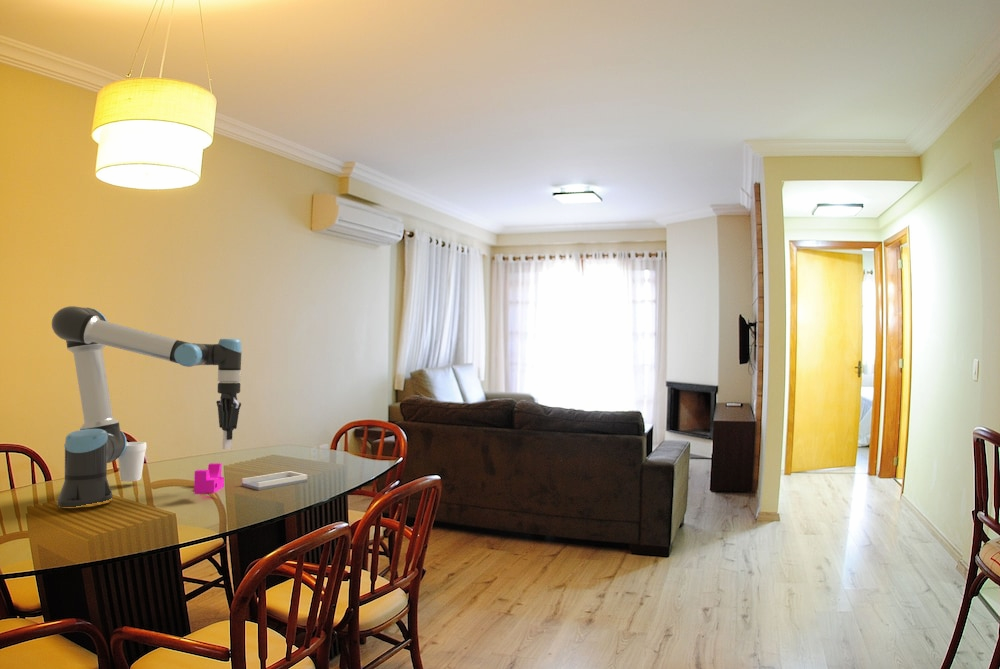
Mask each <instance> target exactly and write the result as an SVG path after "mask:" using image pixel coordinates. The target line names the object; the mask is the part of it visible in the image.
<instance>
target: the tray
mask: <svg viewBox="0 0 1000 669" xmlns="http://www.w3.org/2000/svg"><path fill="white" fill-rule="evenodd" d="M307 482H308V474H305V473H301V472H297V471H291V470H289V471H288V470H287V471H282V472H275V473H269V474H263V475H257V476H252V477H251V476H250V477H243V478H241V486H242V487H243V488H248V489H252V490H256V491H262V490H263V491H265V490H269V489H274V488H280V487H286V486H291V485H296V484H297V485H298V484H302V483H303V484H304V483H307Z"/></svg>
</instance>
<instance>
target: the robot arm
mask: <svg viewBox="0 0 1000 669" xmlns="http://www.w3.org/2000/svg"><path fill="white" fill-rule="evenodd" d="M51 328H52V330H53V333H54V334H55V335H56V336H57V337H58V338H59V339H62V340H63V341H66V342H65V344H66V347H67V350H68V351H70V352H71V353H72V354H73V358H74V360H73V361H74V364H75V372H76V377H77V384H78V390H79V396H80V402H81V409H82V415H83V421H84V422H83V424H82V425H81V426H80V427H79V429H80V430H75V431H71V432H69V433H68V434H67V435H66V436H65V441H64V442H65V443H64V446H63V447H64V481H63V485H62V487H61V490H60V492H59V494H58V498H57V507H58V506H60V507H76V506H81V505H86V504H92V503H97V502H103V501H106V500H109V499H111V498H112V499H113V493H112V488H111V486H110V484H109V480H108V478H107V476H108V475H107V468H108V467H107V466H108V465H107V464H109V463H112V462H114V461H117V460H118V458H119V457H120V456H121V455H122V454H123V452H124V451H125V449H126V445H127V441H128V440H127V437H126V435H125V433H124V432H123V431H122V430H121V427H120V421H119V420H118V419H116V418H114V416H113V409H112V402H111V398H110V397H111V396H110V390H109V385H108V384H109V383H108V377H107V370H106V365H105V358H104V352H103V350H104V348H105V347H106V346H108V347H111V348H115V349H119V350H123V351H128V352H131V353H136V354H139V355H144V356H147V357H152V358H156V359H159V360H165V361H168V362H172V363H175V364H179V365H180V366H182V367H186V368H187V367H189V368H190V367H194V366H195V367H196V366H218V367H217V369H218V370H217V381H218V383H217V393H218V394H221V395H220V400H216V406H217V415H218V424H219V425H218V427H219V428H220V429H221V430H222V450H229V449H233V431H234V430H237V428H238V422H239V414H240V409H241V406H242V403H241V402H238V396H237V394H239V393H240V392H241V383H240V381H241V377H242V376H241V375H242V373H241V372H242V369H241V368H242V353H243V352H242V341H241V340H240V339H238V338H220V339H219V340H218V343H214V344H213V343H192V342H187V341H183V340H179V339H176V338H171V337H167V336H163V335H159V334H156V333H152V332H148V331H144V330H140V329H137V328H133V327H128V326H125V325H121V324H117V323H114V322H109V321H108V319H107V318H106V316H105V315H104V314H103V313H102V312H100V311H98V310H96V309H94V308H91V307H83V306H82V307H80V306H74V305H73V306H71V305H70V306H66V307H65V306H64V307H62V308H61V309H59V310H58V311H56V312H55V313H54V314H53V316H52V320H51ZM60 507H59V508H60Z"/></svg>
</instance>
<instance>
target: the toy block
mask: <svg viewBox="0 0 1000 669" xmlns="http://www.w3.org/2000/svg"><path fill="white" fill-rule="evenodd" d="M193 485H194V486H193V488H194V492H193V494H194V495H202V494H215V493H217V492H218V491H220V490H221V489H223V488H225V476H222V462H220V463H219V462H217V463H215V462H211V463H208V467H207V469H196V470H194V484H193Z"/></svg>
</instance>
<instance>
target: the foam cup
mask: <svg viewBox="0 0 1000 669" xmlns="http://www.w3.org/2000/svg"><path fill="white" fill-rule="evenodd" d="M146 450H147V442H145V441H144V442H143V441H129V442H127V445H126V449H125V451H124V452H123V454H122V455H121V456H120V457H119V458H117V461H118V468H119V478H120V481H121V482H127V483H128V482H137V481H140V480H142V476H143V469H144V462H145V457H146V456H145V455H146Z"/></svg>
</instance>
